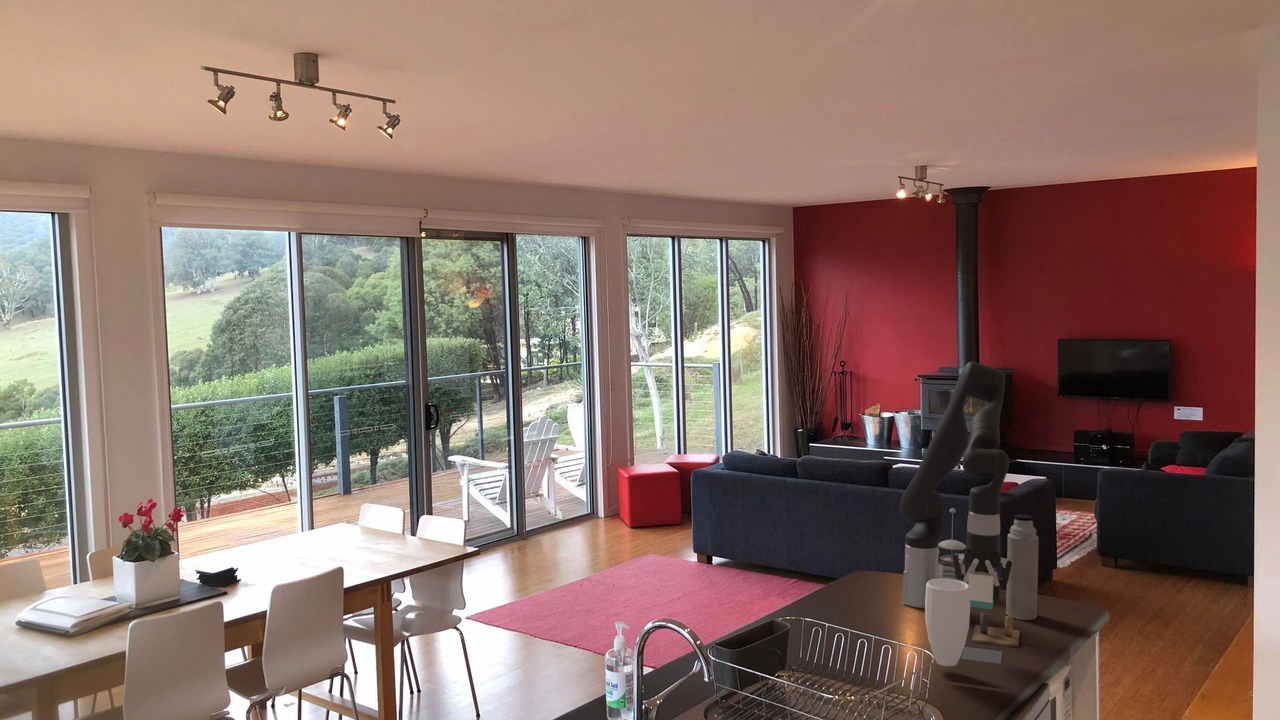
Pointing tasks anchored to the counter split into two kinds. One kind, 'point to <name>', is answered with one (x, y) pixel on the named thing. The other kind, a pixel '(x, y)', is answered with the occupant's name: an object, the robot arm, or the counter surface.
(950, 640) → the cup
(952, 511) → the french press
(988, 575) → the sleeve
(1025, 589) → the thermos bottle
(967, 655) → the pad
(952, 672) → the counter surface
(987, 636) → the pin board
